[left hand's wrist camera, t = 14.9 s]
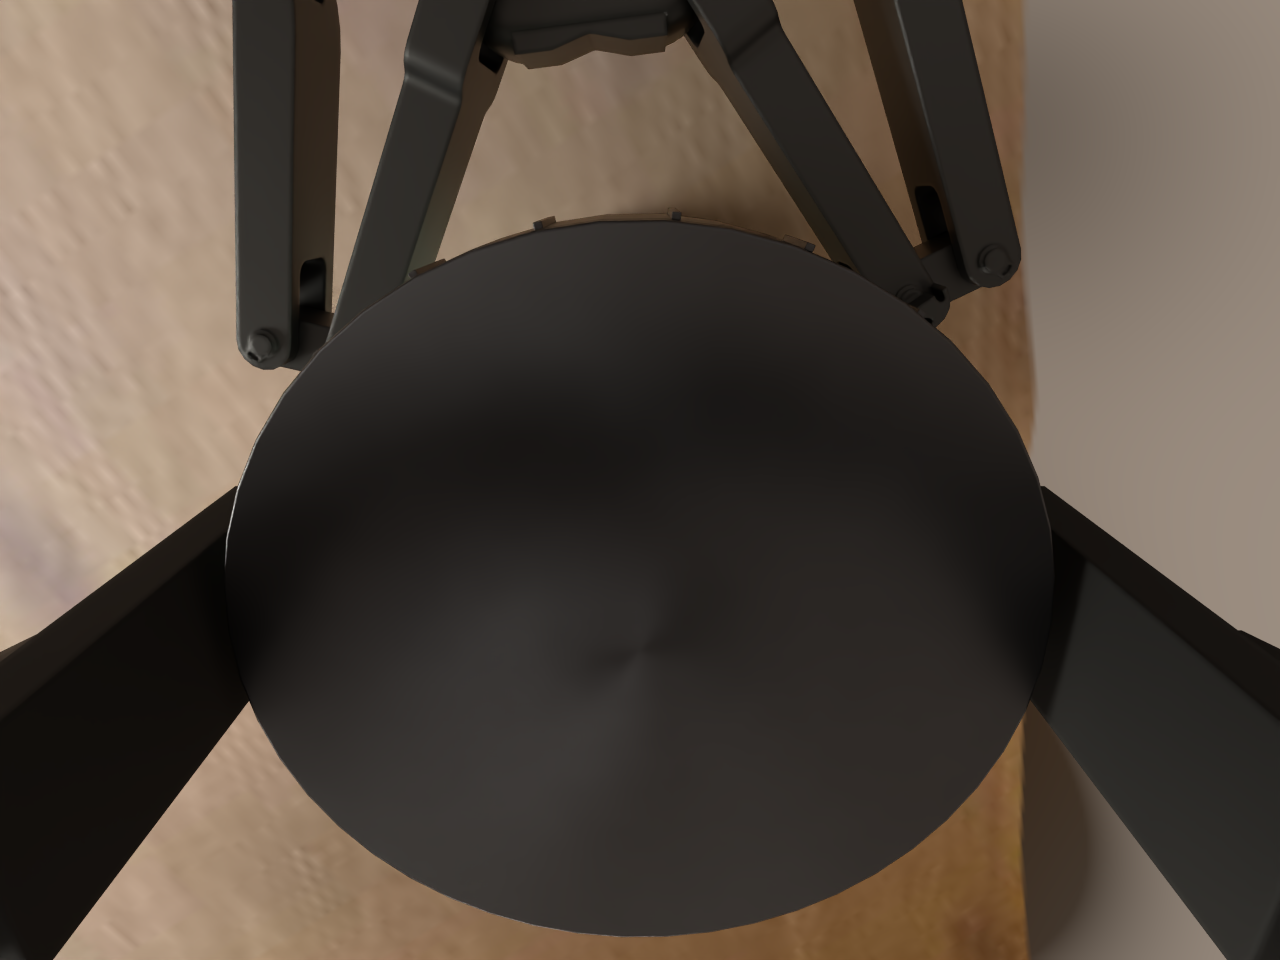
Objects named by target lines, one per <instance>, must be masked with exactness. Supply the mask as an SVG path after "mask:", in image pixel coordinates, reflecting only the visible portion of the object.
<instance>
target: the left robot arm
mask: <svg viewBox="0 0 1280 960" xmlns="http://www.w3.org/2000/svg"><path fill="white" fill-rule="evenodd" d="M237 487H238V486H235V487H234V488H232V489H231V490H230V491H228V492H227V493H226V494H224V495H223V496H222V497H220V498H219V499H218V500H216V501H215V502H214V503H212V504H211V505H210V506H208V507H207V508H206V509H204V510H203V511H202V512H200V513H199V514H198V515H196V516H195V517H194V518H192V519H191V520H190V521H188V522H187V523H186V524H184V525H183V526H182V527H180V528H179V529H177V530H176V531H175V532H173V533H172V534H171V535H169V536H168V537H167V538H165V539H164V540H163V541H161V542H160V543H159V544H157V545H156V546H155V547H153V548H152V549H151V550H149V551H148V552H147V553H145V554H144V555H143V556H141V557H140V558H139V559H137V560H136V561H135V562H133V563H132V564H131V565H129V566H128V567H127V568H125V569H124V570H123V571H121V572H120V573H119V574H117V575H116V576H114V577H113V578H112V579H110V580H109V581H108V582H106V583H105V584H104V585H102V586H101V587H100V588H98V589H97V590H96V591H94V592H93V593H92V594H90V595H89V596H88V597H86V598H85V599H84V600H82V601H81V602H80V603H78V604H77V605H76V606H74V607H73V608H72V609H70V610H69V611H68V612H66V613H65V614H64V615H62V616H61V617H60V618H58V619H57V620H56V621H54V622H53V623H51V624H50V625H49V626H47V627H46V628H45V629H43V630H42V631H41V632H39V633H38V634H36V635H34V636H32V637H30V638H28V639H26V640H24V641H22V642H20V643H18V644H16V645H14V646H12V647H10V648H8V649H6V650H4V651H2V652H0V960H53V959H54V958H55V956H56V955H57V954H58V952H59V951H60V950H61V948H62V947H63V946H64V944H65V943H66V942H67V941H68V939H69V938H70V937H71V935H72V934H73V933H74V931H75V930H76V929H77V927H78V926H79V925H80V923H81V922H82V921H83V919H84V918H85V917H86V915H87V914H88V913H89V911H90V910H91V909H92V907H93V906H94V905H95V904H96V902H97V901H98V900H99V898H100V897H101V896H102V894H103V893H104V892H105V890H106V889H107V888H108V886H109V885H110V884H111V882H112V881H113V880H114V878H115V877H116V876H117V874H118V873H119V872H120V871H121V869H122V868H123V867H124V865H125V864H126V863H127V861H128V860H129V859H130V857H131V856H132V855H133V853H134V852H135V851H136V849H137V848H138V847H139V845H140V844H141V843H142V841H143V840H144V839H145V838H146V836H147V835H148V834H149V832H150V831H151V830H152V828H153V827H154V826H155V824H156V823H157V822H158V820H159V819H160V818H161V816H162V815H163V814H164V812H165V811H166V810H167V808H168V807H169V806H170V804H171V803H172V802H173V801H174V799H175V798H176V797H177V795H178V794H179V793H180V791H181V790H182V789H183V787H184V786H185V785H186V783H187V782H188V781H189V779H190V778H191V777H192V775H193V774H194V773H195V771H196V770H197V769H198V768H199V766H200V765H201V764H202V762H203V761H204V760H205V758H206V757H207V756H208V754H209V753H210V752H211V750H212V749H213V748H214V746H215V745H216V744H217V742H218V741H219V740H220V738H221V737H222V736H223V735H224V733H225V732H226V731H227V729H228V728H229V727H230V725H231V724H232V723H233V721H234V720H235V719H236V717H237V716H238V715H239V713H240V712H241V711H242V709H243V708H244V707H245V705H246V704H247V703H248V701H249V699H248V696H247V694H246V691H245V689H244V687H243V684H242V682H241V679H240V676H239V672H238V668H237V665H236V661H235V657H234V653H233V649H232V645H231V641H230V637H229V633H228V623H227V613H226V603H225V593H224V574H225V555H226V538H227V533H228V528H229V523H230V519H231V514H232V510H233V505H234V500H235V496H236V491H237ZM1040 487H1041V491H1042V495H1043V499H1044V503H1045V507H1046V511H1047V515H1048V519H1049V523H1050V527H1051V537H1052V548H1053V560H1054V571H1055V583H1054V598H1053V613H1052V625H1051V629H1050V634H1049V638H1048V643H1047V647H1046V652H1045V656H1044V661H1043V665H1042V669H1041V672H1040V675H1039V677H1038V680H1037V683H1036V685H1035V688H1034V691H1033V693H1032V696H1031V698H1030V700H1031V701H1032V703H1033V704H1034V705H1035V707H1036V708H1037V709H1038V711H1039V712H1040V713H1041V715H1042V716H1043V717H1044V719H1045V720H1046V721H1047V723H1048V724H1049V725H1050V727H1051V728H1052V729H1053V731H1054V732H1055V733H1056V735H1057V736H1058V737H1059V738H1060V740H1061V741H1062V742H1063V744H1064V745H1065V746H1066V748H1067V749H1068V750H1069V752H1070V753H1071V754H1072V756H1073V757H1074V758H1075V760H1076V761H1077V762H1078V764H1079V765H1080V766H1081V768H1082V769H1083V770H1084V771H1085V773H1086V774H1087V775H1088V777H1089V778H1090V779H1091V781H1092V782H1093V783H1094V785H1095V786H1096V787H1097V789H1098V790H1099V791H1100V793H1101V794H1102V795H1103V797H1104V798H1105V799H1106V801H1107V802H1108V803H1109V804H1110V806H1111V807H1112V808H1113V810H1114V811H1115V812H1116V814H1117V815H1118V816H1119V818H1120V819H1121V820H1122V822H1123V823H1124V824H1125V826H1126V827H1127V828H1128V830H1129V831H1130V832H1131V834H1132V835H1133V836H1134V837H1135V839H1136V840H1137V841H1138V843H1139V844H1140V845H1141V847H1142V848H1143V849H1144V851H1145V852H1146V853H1147V855H1148V856H1149V857H1150V859H1151V860H1152V861H1153V863H1154V864H1155V865H1156V867H1157V868H1158V869H1159V871H1160V872H1161V873H1162V874H1163V876H1164V877H1165V878H1166V880H1167V881H1168V882H1169V884H1170V885H1171V886H1172V888H1173V889H1174V890H1175V892H1176V893H1177V894H1178V896H1179V897H1180V898H1181V900H1182V901H1183V902H1184V904H1185V905H1186V906H1187V907H1188V909H1189V910H1190V911H1191V913H1192V914H1193V915H1194V917H1195V918H1196V919H1197V921H1198V922H1199V923H1200V925H1201V926H1202V927H1203V929H1204V930H1205V931H1206V933H1207V934H1208V935H1209V937H1210V938H1211V939H1212V940H1213V942H1214V943H1215V944H1216V946H1217V947H1218V948H1219V950H1220V951H1221V952H1222V954H1223V955H1224V956H1225V958H1226V959H1227V960H1280V649H1279V648H1277V647H1275V646H1273V645H1271V644H1269V643H1266V642H1264V641H1262V640H1260V639H1258V638H1256V637H1254V636H1252V635H1250V634H1248V633H1246V632H1244V631H1241V630H1240V631H1239V630H1237V629H1235V628H1234V627H1233V626H1231V625H1230V624H1229V623H1227V622H1226V621H1224V620H1223V619H1222V618H1220V617H1219V616H1218V615H1216V614H1215V613H1214V612H1212V611H1211V610H1210V609H1208V608H1207V607H1206V606H1204V605H1203V604H1202V603H1200V602H1199V601H1198V600H1196V599H1195V598H1194V597H1192V596H1191V595H1190V594H1188V593H1187V592H1186V591H1184V590H1183V589H1182V588H1180V587H1179V586H1178V585H1176V584H1175V583H1174V582H1172V581H1171V580H1170V579H1168V578H1167V577H1165V576H1164V575H1163V574H1161V573H1160V572H1159V571H1157V570H1156V569H1155V568H1153V567H1152V566H1151V565H1149V564H1148V563H1147V562H1145V561H1144V560H1143V559H1141V558H1140V557H1139V556H1137V555H1136V554H1135V553H1133V552H1132V551H1131V550H1129V549H1128V548H1127V547H1125V546H1124V545H1123V544H1121V543H1120V542H1119V541H1117V540H1116V539H1115V538H1113V537H1112V536H1111V535H1109V534H1108V533H1107V532H1105V531H1104V530H1103V529H1101V528H1100V527H1098V526H1097V525H1096V524H1094V523H1093V522H1092V521H1090V520H1089V519H1088V518H1086V517H1085V516H1084V515H1082V514H1081V513H1080V512H1078V511H1077V510H1076V509H1074V508H1073V507H1072V506H1070V505H1069V504H1068V503H1066V502H1065V501H1064V500H1062V499H1061V498H1060V497H1058V496H1057V495H1056V494H1054V493H1053V492H1052V491H1050V490H1049V489H1047V488H1046V487H1045V486H1040Z"/></svg>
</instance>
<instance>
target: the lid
mask: <svg viewBox="0 0 1280 960" xmlns="http://www.w3.org/2000/svg"><path fill="white" fill-rule="evenodd" d="M533 226H534V228H533V229H530V230H527V231H524V232H520V233H517V234H514V235H510V236H507V237H504V238H500V239H498V240H495V241H493V242H490V243H488V244H485V245H482V246H480V247H477V248H475V249H472V250H470V251H468V252H465V253H463V254H461V255H459V256H457V257H455V258H453V259H450V260H448V261H446V260H445V259H442V260H439V261H436V262H434V263H431V264H428V265H426V266H423V267H420V268H418V269H415V270H413V271H411V272H410V273H408V275H409V277H410V278H411V279H409V280H408V281H406V282H405V283H403V284H402V285H400V286H399V287H397V288H396V289H394V290H393V291H391V292H390V293H388V294H387V295H385V296H383V297H382V298H380V299H379V300H377V301H376V302H374V303H373V304H371V305H370V306H368V307H367V308H365V309H364V310H362V311H361V312H360V313H359V314H358V315H357V316H356V317H355V318H353V319H352V320H351V321H350V322H349V323H348V324H347V325H346V326H345V327H343V328H342V329H341V330H340V331H339V332H338V333H337V334H336V335H334V336H333V337H332V338H331V339H330V340H329V341H328V342H327V343H326V344H324V345H323V346H322V347H321V348H319V349H318V350H316V351H315V353H314V354H313V357H312V359H311V360H310V361H309V362H308V363H307V365H306V366H305V367H304V368H303V370H302V371H301V372H300V373H299V374H298V376H297V377H296V378H295V379H294V380H293V382H292V383H291V384H290V385H289V387H288V388H287V389H286V390H285V391H284V393H283V394H282V396H281V398H280V399H279V401H278V403H277V405H276V406H275V408H274V410H273V411H272V413H271V415H270V416H269V418H268V420H267V422H266V423H265V425H264V427H263V428H262V430H261V432H260V434H259V435H258V437H257V439H256V441H255V443H254V446H253V448H252V451H251V454H250V456H249V459H248V461H247V464H246V466H245V469H244V472H243V474H242V477H241V479H240V482H239V484H238V487H237V491H236V496H235V500H234V505H233V510H232V514H231V519H230V523H229V528H228V533H227V538H226V555H225V574H224V593H225V603H226V613H227V623H228V633H229V637H230V641H231V645H232V649H233V653H234V657H235V661H236V665H237V668H238V672H239V676H240V679H241V682H242V684H243V687H244V689H245V691H246V694H247V696H248V699H249V701H250V704H251V706H252V708H253V711H254V713H255V716H256V718H257V720H258V722H259V724H260V725H261V727H262V729H263V731H264V732H265V734H266V736H267V738H268V739H269V741H270V743H271V744H272V746H273V748H274V750H275V751H276V753H277V755H278V756H279V758H280V760H281V761H282V762H283V764H284V765H285V766H286V767H287V769H288V770H289V771H290V773H291V774H292V775H293V777H294V778H295V779H296V780H297V782H298V783H299V784H300V786H301V787H302V788H303V790H304V791H305V792H306V793H307V795H308V796H309V797H310V798H311V799H312V800H313V801H314V802H315V803H316V804H317V805H318V806H319V807H320V808H321V809H322V810H323V811H324V812H325V813H326V814H327V815H328V816H329V817H330V818H331V819H332V820H333V821H334V822H335V823H336V824H337V825H338V826H339V827H340V828H341V829H343V830H344V831H345V832H346V833H348V834H349V835H350V836H351V837H352V838H354V839H355V840H356V841H357V842H359V843H360V844H361V845H362V846H364V847H365V848H366V849H367V850H369V851H370V852H371V853H372V854H374V855H375V856H377V857H378V858H380V859H381V860H383V861H385V862H386V863H388V864H389V865H391V866H392V867H394V868H395V869H397V870H399V871H400V872H402V873H403V874H405V875H406V876H408V877H410V878H411V879H413V880H415V881H417V882H419V883H421V884H423V885H425V886H427V887H429V888H431V889H433V890H435V891H437V892H439V893H441V894H443V895H445V896H447V897H449V898H451V899H454V900H457V901H459V902H462V903H464V904H467V905H470V906H472V907H475V908H477V909H480V910H483V911H485V912H488V913H490V914H494V915H497V916H501V917H504V918H508V919H512V920H515V921H519V922H523V923H526V924H530V925H533V926H539V927H544V928H550V929H556V930H561V931H567V932H573V933H579V934H591V935H603V936H615V937H668V936H677V935H687V934H697V933H707V932H714V931H719V930H724V929H729V928H734V927H739V926H744V925H749V924H754V923H757V922H761V921H764V920H767V919H771V918H774V917H777V916H781V915H784V914H788V913H791V912H794V911H797V910H800V909H802V908H805V907H807V906H809V905H812V904H814V903H817V902H819V901H822V900H824V899H827V898H829V897H832V896H834V895H836V894H839V893H840V892H842V891H844V890H846V889H848V888H850V887H852V886H854V885H856V884H857V883H859V882H861V881H863V880H865V879H867V878H869V877H871V876H872V875H874V874H876V873H878V872H879V871H881V870H882V869H884V868H885V867H887V866H888V865H890V864H891V863H893V862H894V861H896V860H897V859H899V858H900V857H902V856H903V855H904V854H906V853H907V852H909V851H910V850H912V849H913V848H915V847H916V846H917V845H918V844H919V843H920V842H922V841H923V840H924V839H925V838H926V837H928V836H929V835H930V834H931V833H932V832H933V831H935V830H936V829H937V828H938V827H939V826H941V825H942V824H943V823H944V822H945V821H946V820H947V819H948V818H949V817H950V816H951V815H952V814H953V813H954V812H955V811H956V810H957V809H958V808H959V807H960V806H961V805H962V803H963V802H964V801H965V800H966V799H967V798H968V797H969V796H970V795H971V794H972V793H973V792H974V791H975V790H976V788H977V787H978V786H979V785H980V783H981V782H982V781H983V779H984V778H985V776H986V775H987V774H988V772H989V771H990V770H991V768H992V767H993V765H994V764H995V763H996V761H997V760H998V759H999V757H1000V756H1001V754H1002V753H1003V752H1004V750H1005V748H1006V746H1007V745H1008V743H1009V741H1010V739H1011V737H1012V735H1013V734H1014V732H1015V730H1016V728H1017V726H1018V724H1019V723H1020V721H1021V719H1022V717H1023V715H1024V713H1025V712H1026V709H1027V706H1028V704H1029V701H1030V698H1031V696H1032V693H1033V691H1034V688H1035V685H1036V683H1037V680H1038V677H1039V675H1040V672H1041V669H1042V665H1043V661H1044V656H1045V652H1046V647H1047V643H1048V638H1049V634H1050V629H1051V625H1052V613H1053V598H1054V583H1055V571H1054V560H1053V548H1052V537H1051V527H1050V523H1049V519H1048V515H1047V511H1046V507H1045V503H1044V499H1043V495H1042V491H1041V487H1040V483H1039V479H1038V476H1037V474H1036V471H1035V469H1034V467H1033V464H1032V462H1031V460H1030V457H1029V455H1028V453H1027V450H1026V448H1025V446H1024V443H1023V441H1022V439H1021V436H1020V434H1019V431H1018V429H1017V428H1016V426H1015V425H1014V423H1013V421H1012V420H1011V418H1010V417H1009V415H1008V414H1007V412H1006V410H1005V409H1004V407H1003V406H1002V404H1001V402H1000V401H999V399H998V398H997V396H996V394H995V393H994V391H993V390H992V388H991V387H990V385H989V384H988V382H987V381H986V380H985V379H984V378H983V377H982V376H981V374H980V373H979V372H978V371H977V370H976V369H975V367H974V366H973V365H972V364H971V363H970V362H969V361H968V359H967V358H966V357H965V356H964V355H963V354H962V353H961V351H960V350H959V349H958V348H957V347H956V346H955V345H954V343H953V342H952V341H951V340H950V339H948V338H947V337H946V336H945V335H944V334H942V333H941V332H940V331H939V330H938V329H937V328H935V327H934V326H933V325H932V324H931V323H929V322H928V321H927V320H926V319H925V318H923V317H924V316H925V315H926V314H925V313H924V312H923V311H922V310H921V309H919V308H916V307H914V306H912V305H910V304H907V303H906V302H904V301H902V300H901V299H899V298H897V297H896V296H894V295H893V294H891V293H889V292H888V291H886V290H884V289H883V288H881V287H880V286H878V285H876V284H875V283H873V282H871V281H870V280H868V279H867V278H865V277H863V276H862V275H860V274H858V273H857V272H855V271H854V270H851V269H849V268H847V267H844V266H842V265H840V264H837V263H835V262H833V261H830V260H828V259H826V258H823V257H821V256H819V255H816V254H814V253H812V252H813V250H814V248H815V245H813V244H811V243H808V242H806V241H803V240H800V239H797V238H794V237H791V236H788V235H785V236H784V239H783V240H780V239H778V238H775V237H772V236H770V235H767V234H764V233H760V232H756V231H752V230H749V229H745V228H741V227H738V226H734V225H730V224H727V223H723V222H719V221H716V220H708V219H700V218H692V217H684V216H681V212H680V211H678V210H677V209H675V208H668V213H667V214H606V215H599V216H593V217H587V218H580V219H574V220H567V221H561V222H556V220H555V216H552V217H548V218H545V219H542V220H539V221H536V222H534V223H533Z"/></svg>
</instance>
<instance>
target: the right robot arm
mask: <svg viewBox="0 0 1280 960" xmlns="http://www.w3.org/2000/svg"><path fill="white" fill-rule="evenodd" d="M854 3H855V7H856V10H857V14H858V17H859V21H860V24H861V28H862V31H863V35H864V38H865V42H866V45H867V49H868V53H869V56H870V60H871V63H872V67H873V70H874V74H875V77H876V81H877V84H878V88H879V92H880V95H881V99H882V102H883V106H884V109H885V113H886V116H887V120H888V123H889V127H890V130H891V134H892V138H893V141H894V145H895V148H896V152H897V155H898V159H899V162H900V166H901V169H902V173H903V177H904V180H905V184H906V187H907V191H908V194H909V198H910V201H911V205H912V208H913V212H914V215H915V219H916V223H917V226H918V230H919V233H920V237H921V240H922V244H920V245H918V246H915V247H913V246H912V245H911V243H910V241H909V240H908V238H907V236H906V235H905V233H904V231H903V230H902V228H901V226H900V225H899V223H898V221H897V220H896V218H895V216H894V215H893V213H892V211H891V210H890V208H889V206H888V205H887V203H886V201H885V200H884V198H883V196H882V195H881V193H880V191H879V190H878V188H877V186H876V185H875V183H874V181H873V180H872V178H871V176H870V175H869V173H868V171H867V170H866V168H865V166H864V165H863V163H862V161H861V160H860V158H859V156H858V155H857V153H856V151H855V150H854V148H853V146H852V145H851V143H850V141H849V140H848V138H847V136H846V135H845V133H844V131H843V130H842V128H841V126H840V125H839V123H838V121H837V120H836V118H835V116H834V115H833V113H832V111H831V110H830V108H829V106H828V105H827V103H826V101H825V100H824V98H823V96H822V95H821V93H820V91H819V90H818V88H817V86H816V85H815V83H814V81H813V80H812V78H811V76H810V75H809V73H808V71H807V70H806V68H805V66H804V65H803V63H802V61H801V60H800V58H799V56H798V55H797V53H796V51H795V50H794V48H793V46H792V45H791V43H790V41H789V40H788V38H787V36H786V35H785V33H784V31H783V29H782V27H781V24H780V21H779V16H778V12H777V10H776V7H775V5H774V2H773V1H772V0H419V2H418V5H417V9H416V12H415V15H414V19H413V22H412V26H411V29H410V32H409V36H408V39H407V43H406V47H405V53H404V68H405V76H404V81H403V85H402V88H401V92H400V95H399V99H398V102H397V105H396V109H395V112H394V115H393V119H392V122H391V125H390V129H389V132H388V135H387V139H386V142H385V146H384V149H383V152H382V156H381V159H380V162H379V166H378V169H377V172H376V176H375V179H374V182H373V186H372V189H371V192H370V196H369V199H368V203H367V206H366V209H365V213H364V216H363V219H362V223H361V226H360V229H359V233H358V236H357V239H356V243H355V246H354V250H353V253H352V256H351V260H350V263H349V266H348V270H347V273H346V276H345V280H344V283H343V286H342V290H341V293H340V297H339V300H338V303H337V307H336V310H335V313H332V284H333V256H334V227H335V198H336V169H337V141H338V112H339V83H340V55H341V49H340V24H339V15H338V7H337V2H336V0H232V7H233V91H234V176H235V260H236V339H237V344H238V349H239V351H240V352H241V354H242V356H243V357H244V359H245V360H247V361H248V362H249V363H250V364H251V365H253V366H255V367H258V368H260V369H263V370H274V369H276V368H278V367H280V366H281V367H285V368H290V369H294V370H298V371H302V370H303V368H304V367H305V366H306V365H307V363H308V362H309V361H310V360H311V359H312V357H313V354H314V353H315V351H316V350H318V349H319V348H321V347H322V346H323V345H324V344H326V343H327V342H328V341H329V340H330V339H331V338H332V337H333V336H334V335H336V334H337V333H338V332H339V331H340V330H341V329H342V328H343V327H345V326H346V325H347V324H348V323H349V322H350V321H351V320H352V319H353V318H355V317H356V316H357V315H358V314H359V313H360V312H361V311H362V310H364V309H365V308H367V307H368V306H370V305H371V304H373V303H374V302H376V301H377V300H379V299H380V298H382V297H383V296H385V295H387V294H388V293H390V292H391V291H393V290H394V289H396V288H397V287H399V286H400V285H402V284H403V283H405V282H406V281H408V280H409V279H411V278H410V277H409V275H408V273H410V272H411V271H413V270H415V269H418V268H420V267H423V266H426V265H428V264H431V263H434V262H435V260H436V257H437V254H438V251H439V248H440V245H441V242H442V239H443V236H444V233H445V230H446V227H447V224H448V221H449V218H450V215H451V212H452V209H453V207H454V204H455V201H456V198H457V195H458V192H459V189H460V186H461V183H462V180H463V177H464V174H465V171H466V168H467V165H468V162H469V159H470V156H471V153H472V150H473V147H474V145H475V142H476V139H477V136H478V133H479V130H480V127H481V124H482V121H483V118H484V116H485V114H486V112H487V110H488V109H489V107H490V106H491V104H492V102H493V100H494V98H495V96H496V93H497V91H498V88H499V85H500V82H501V79H502V76H503V73H504V70H505V67H506V64H507V61H508V60H510V61H513V62H516V63H521V64H524V65H525V66H526V67H527V68H528V69H534V68H542V67H550V66H558V65H563V64H565V63H567V62H569V61H572V60H574V59H576V58H578V57H580V56H583V55H585V54H587V53H589V52H591V51H595V50H599V51H605V52H611V53H616V54H622V55H628V56H635V55H643V54H651V53H658V52H665V47H666V46H667V45H669V44H671V43H673V42H675V41H676V40H678V39H679V38H681V37H682V36H683V35H684V36H685V38H686V40H687V41H688V43H689V44H690V46H691V47H692V49H693V50H694V52H695V54H696V55H697V57H698V58H699V60H700V61H701V63H702V64H703V66H704V67H705V69H706V70H707V72H708V73H709V74H710V75H711V77H712V78H713V79H714V80H715V81H716V82H717V83H718V84H719V85H720V87H721V88H722V90H723V91H724V93H725V94H726V96H727V97H728V99H729V101H730V102H731V104H732V105H733V107H734V108H735V110H736V111H737V113H738V115H739V116H740V118H741V119H742V121H743V122H744V124H745V125H746V127H747V129H748V130H749V132H750V133H751V135H752V136H753V138H754V139H755V141H756V143H757V144H758V146H759V147H760V149H761V150H762V152H763V154H764V155H765V157H766V158H767V160H768V161H769V163H770V164H771V166H772V168H773V169H774V171H775V172H776V174H777V175H778V177H779V178H780V180H781V182H782V183H783V185H784V186H785V188H786V189H787V191H788V192H789V194H790V196H791V197H792V199H793V200H794V202H795V203H796V205H797V207H798V208H799V210H800V211H801V213H802V214H803V216H804V217H805V219H806V221H807V222H808V224H809V225H810V227H811V228H812V230H813V231H814V233H815V235H816V236H817V238H818V239H819V241H820V242H821V244H822V245H823V247H824V249H825V250H826V252H827V253H828V255H829V256H830V258H831V260H832V261H833V262H835V263H837V264H840V265H842V266H844V267H847V268H849V269H851V270H854V271H855V272H857V273H858V274H860V275H862V276H863V277H865V278H867V279H868V280H870V281H871V282H873V283H875V284H876V285H878V286H880V287H881V288H883V289H884V290H886V291H888V292H889V293H891V294H893V295H894V296H896V297H897V298H899V299H901V300H902V301H904V302H906V303H907V304H910V305H912V306H914V307H916V308H919V309H921V310H922V311H923V312H924V313H925V314H926V315H925V316H924V317H923V318H925V319H926V320H927V321H928V322H929V323H931V324H932V325H933V326H934V327H937V326H938V325H939V324H940V323H941V322H942V321H943V320H944V319H945V317H946V315H947V313H948V311H949V309H950V302H951V301H953V300H955V299H957V298H959V297H961V296H963V295H965V294H968V293H970V292H972V291H974V290H976V289H978V288H980V287H987V288H991V287H996V286H1000V285H1002V284H1003V283H1005V282H1007V281H1008V280H1010V279H1011V277H1012V276H1013V275H1014V274H1015V272H1016V271H1017V269H1018V266H1019V264H1020V261H1021V247H1020V243H1019V239H1018V235H1017V231H1016V226H1015V222H1014V218H1013V214H1012V209H1011V205H1010V201H1009V197H1008V193H1007V188H1006V184H1005V180H1004V176H1003V171H1002V167H1001V163H1000V159H999V154H998V150H997V146H996V142H995V138H994V133H993V129H992V125H991V121H990V116H989V112H988V108H987V104H986V99H985V95H984V91H983V87H982V83H981V78H980V74H979V70H978V66H977V61H976V57H975V53H974V49H973V44H972V40H971V36H970V32H969V28H968V23H967V19H966V15H965V11H964V6H963V2H962V0H854Z"/></svg>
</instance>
